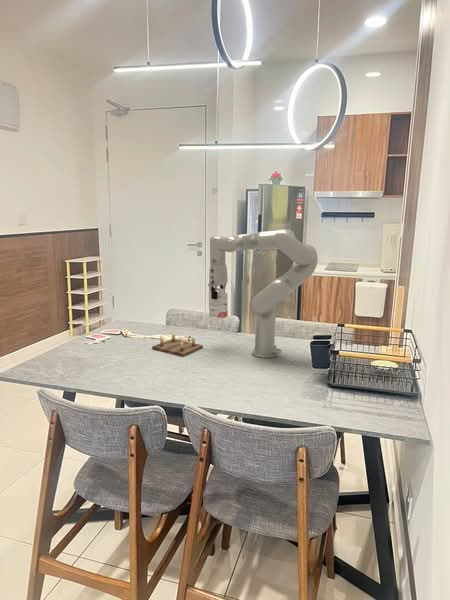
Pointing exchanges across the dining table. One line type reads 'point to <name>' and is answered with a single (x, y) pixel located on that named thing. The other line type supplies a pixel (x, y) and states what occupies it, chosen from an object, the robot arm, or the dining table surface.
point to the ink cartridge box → (218, 304)
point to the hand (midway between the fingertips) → (218, 297)
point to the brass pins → (174, 341)
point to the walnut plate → (177, 347)
